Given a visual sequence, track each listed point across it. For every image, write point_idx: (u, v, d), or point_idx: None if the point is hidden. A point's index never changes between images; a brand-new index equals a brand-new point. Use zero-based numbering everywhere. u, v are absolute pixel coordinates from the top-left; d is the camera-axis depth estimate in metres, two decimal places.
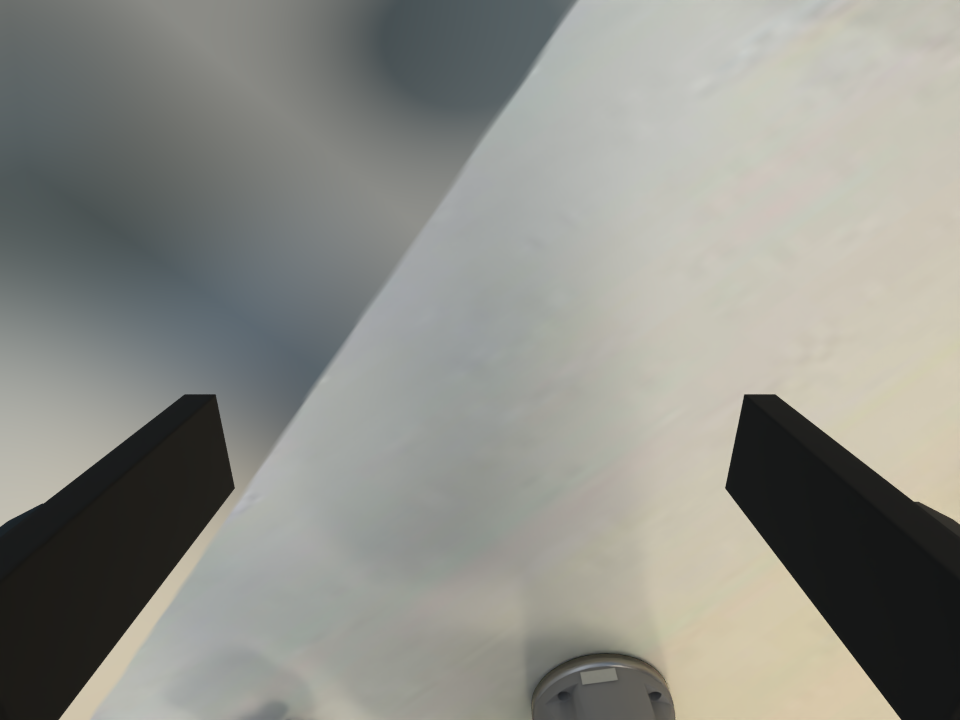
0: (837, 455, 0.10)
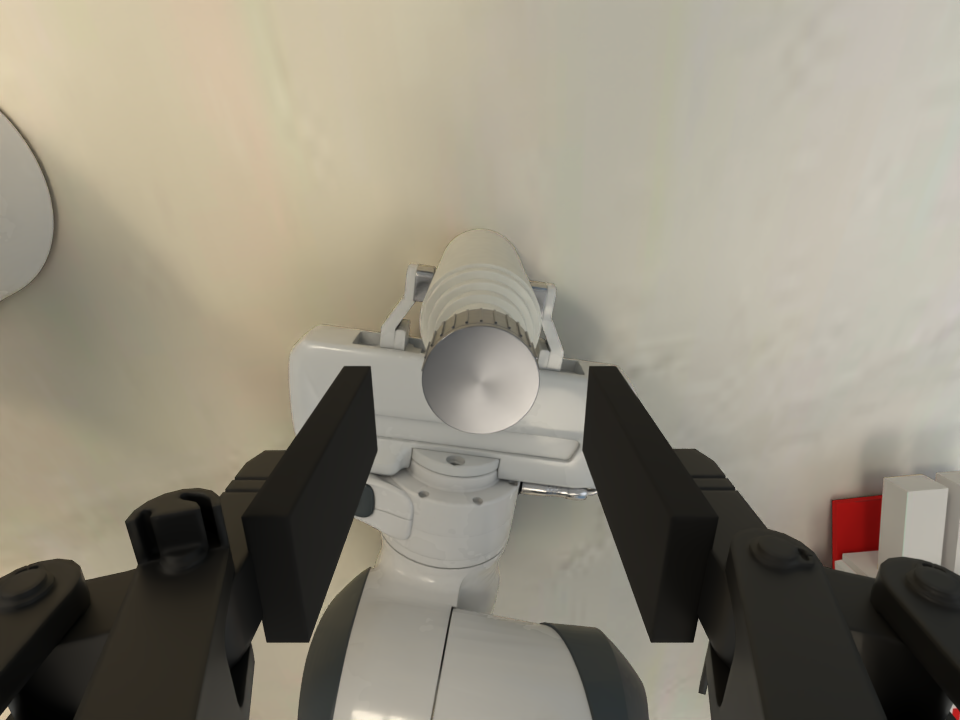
0: (632, 411, 0.12)
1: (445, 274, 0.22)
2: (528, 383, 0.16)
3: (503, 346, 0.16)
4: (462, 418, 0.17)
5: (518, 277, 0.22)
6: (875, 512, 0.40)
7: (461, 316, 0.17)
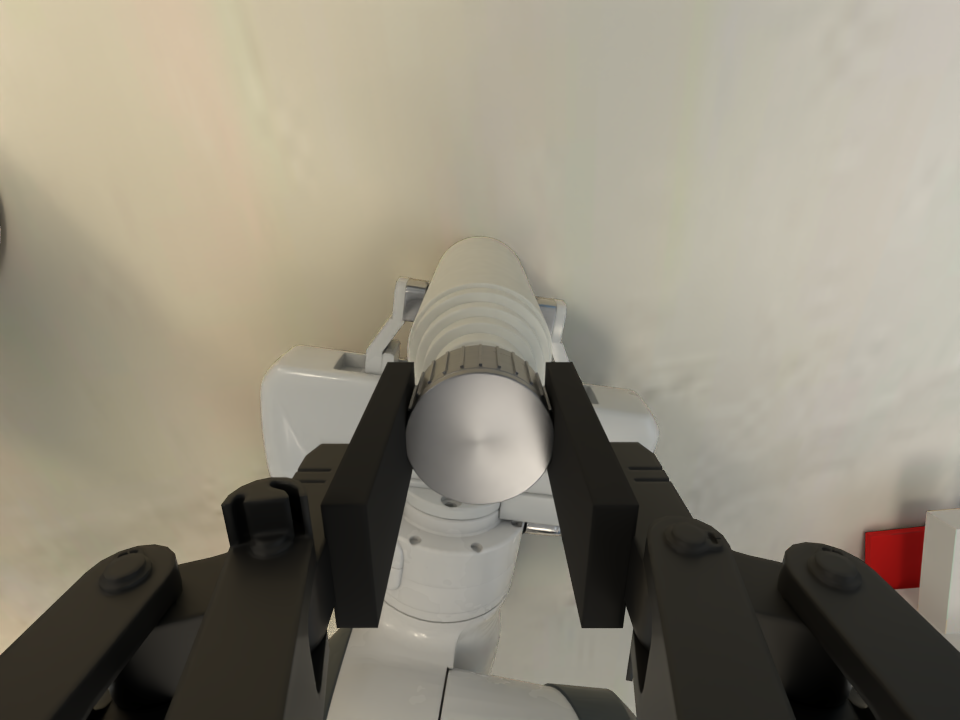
0: (578, 405, 0.12)
1: (437, 295, 0.18)
2: (540, 443, 0.13)
3: (509, 398, 0.12)
4: (456, 485, 0.13)
5: (525, 299, 0.18)
6: (912, 546, 0.37)
7: (455, 355, 0.14)
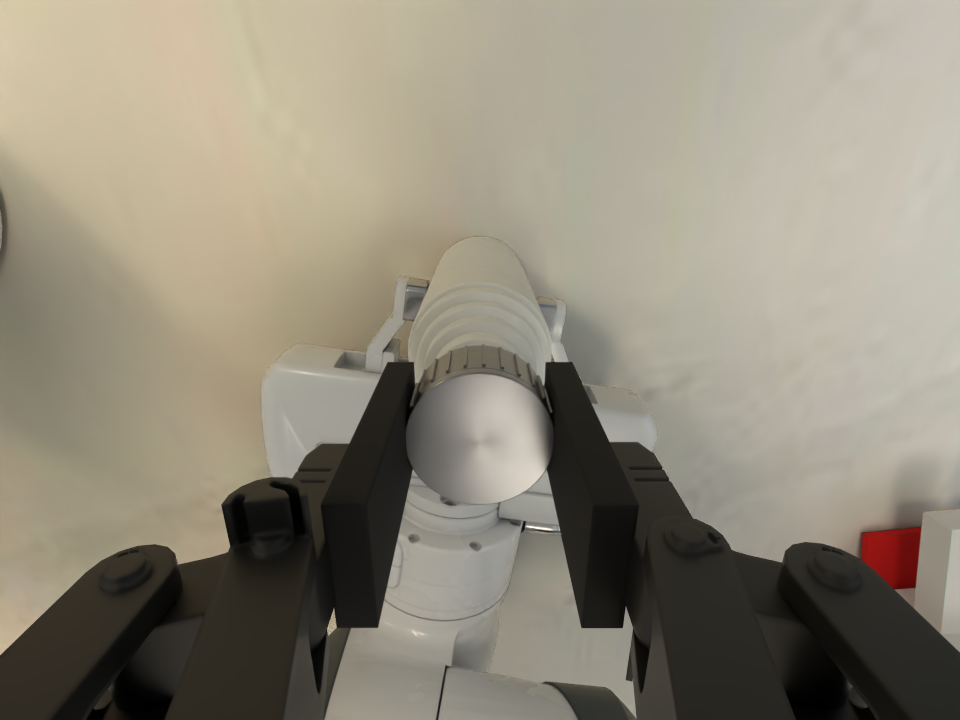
0: (578, 405, 0.12)
1: (438, 294, 0.18)
2: (447, 394, 0.12)
3: (423, 444, 0.13)
4: (536, 435, 0.13)
5: (525, 298, 0.18)
6: (909, 546, 0.37)
7: None
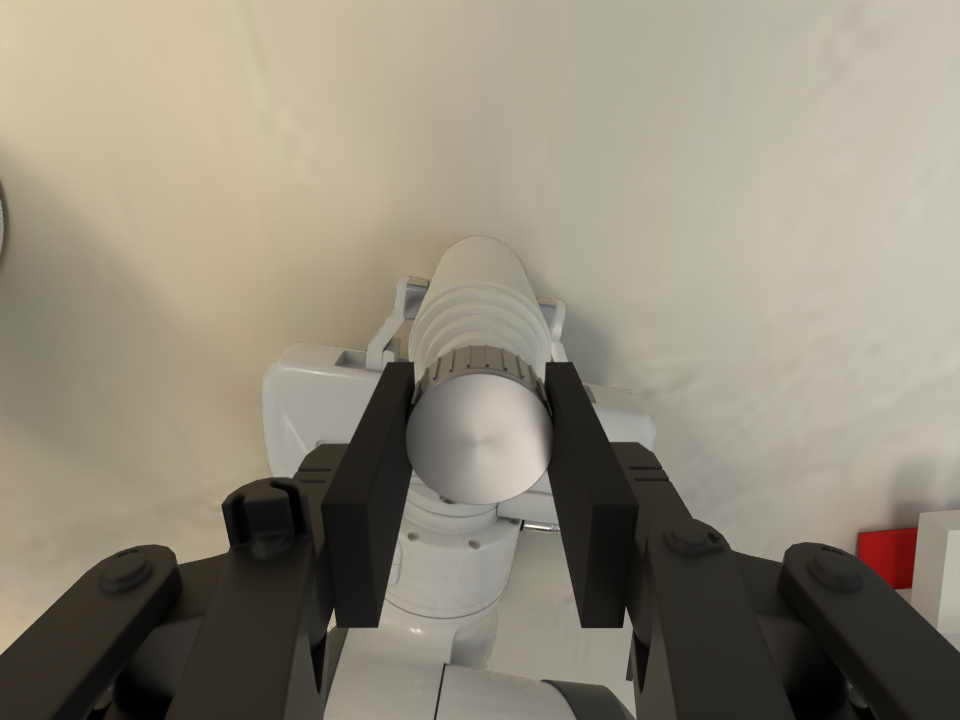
0: (578, 405, 0.12)
1: (439, 293, 0.18)
2: (453, 488, 0.13)
3: (510, 482, 0.13)
4: (442, 402, 0.12)
5: (525, 298, 0.18)
6: (905, 547, 0.37)
7: None
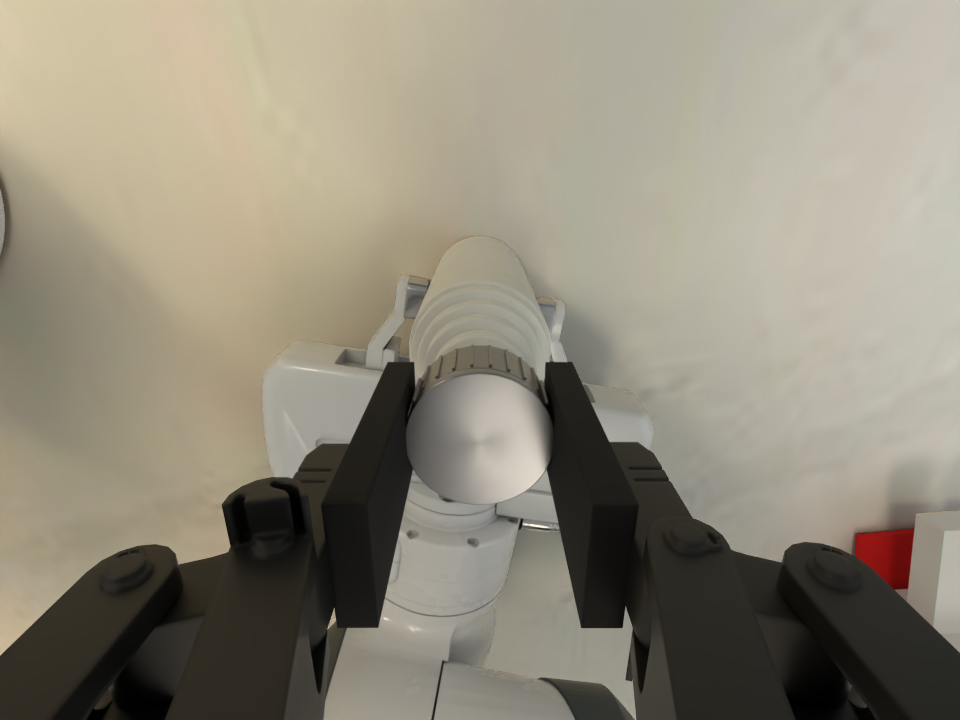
0: (578, 405, 0.12)
1: (439, 292, 0.18)
2: (540, 438, 0.13)
3: (503, 395, 0.12)
4: (462, 488, 0.13)
5: (525, 297, 0.19)
6: (902, 548, 0.37)
7: (448, 359, 0.14)
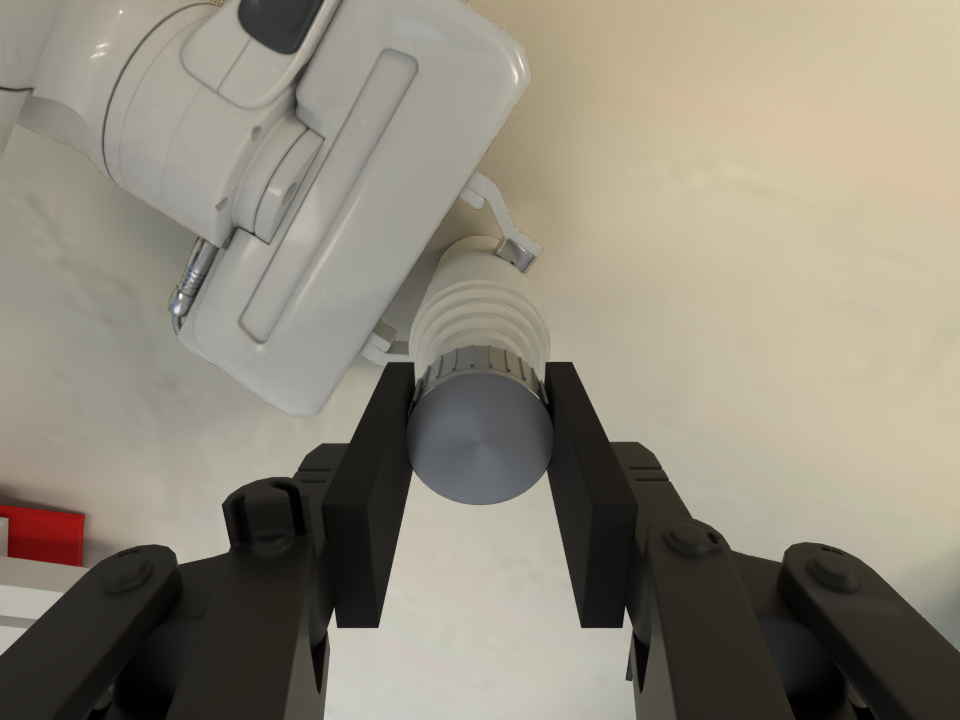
0: (578, 405, 0.12)
1: (549, 340, 0.19)
2: (540, 438, 0.13)
3: (503, 396, 0.12)
4: (462, 488, 0.13)
5: None
6: (60, 549, 0.37)
7: (448, 359, 0.14)
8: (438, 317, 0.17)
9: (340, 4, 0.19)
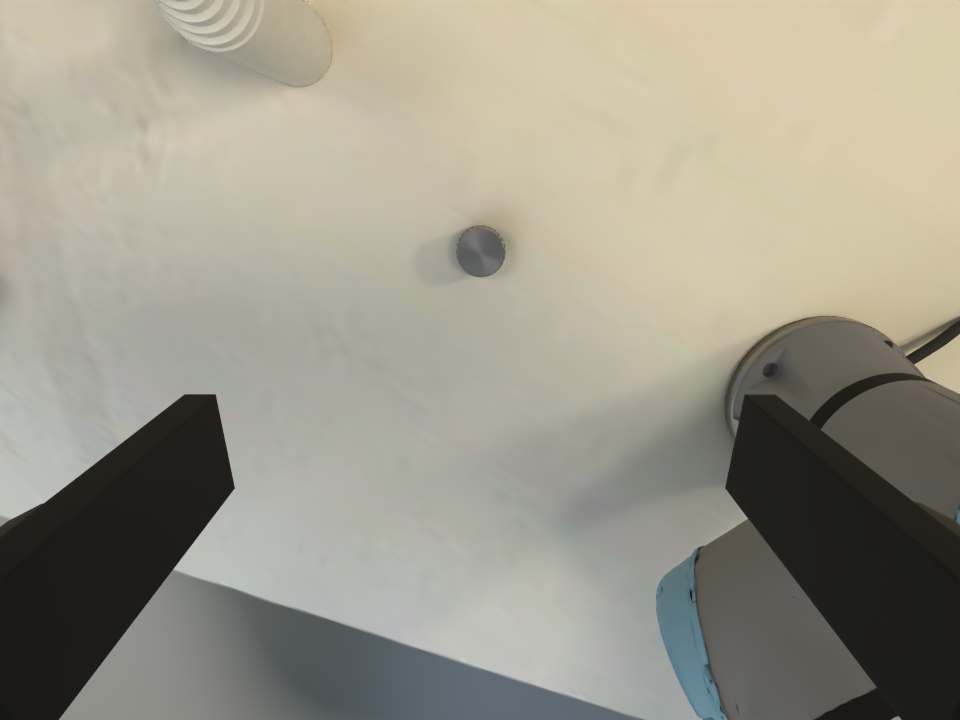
0: (837, 455, 0.10)
1: None
2: (500, 251, 0.40)
3: (488, 236, 0.40)
4: (475, 270, 0.41)
5: (235, 47, 0.26)
6: None
7: (470, 229, 0.41)
8: None
9: None
